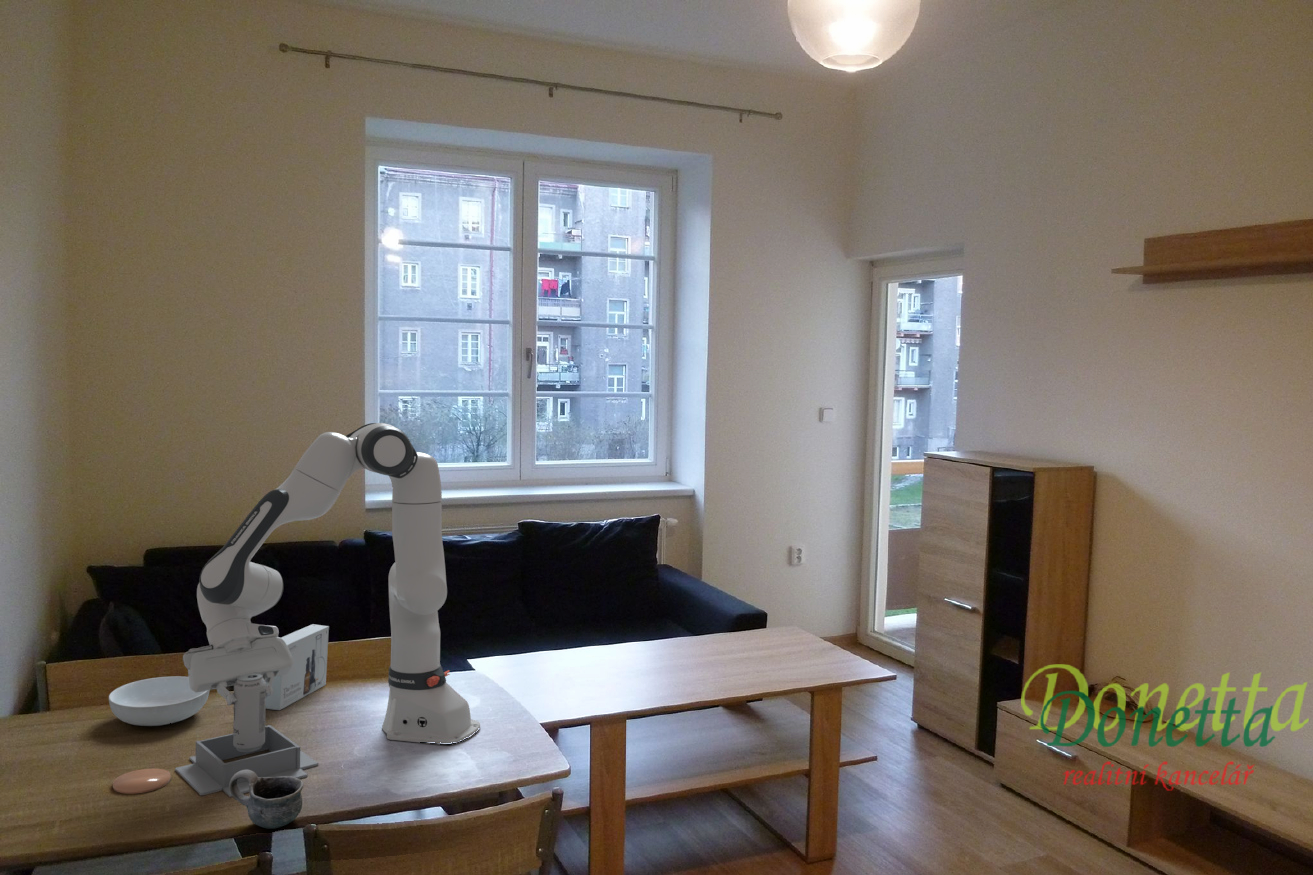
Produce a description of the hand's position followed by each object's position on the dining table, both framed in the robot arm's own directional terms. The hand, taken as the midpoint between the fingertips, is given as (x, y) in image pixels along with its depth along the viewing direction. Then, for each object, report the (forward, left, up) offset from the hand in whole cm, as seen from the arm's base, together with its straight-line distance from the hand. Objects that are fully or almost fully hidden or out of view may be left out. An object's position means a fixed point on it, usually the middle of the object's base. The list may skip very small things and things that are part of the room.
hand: (251, 699), depth 196 cm
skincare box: (+22, -39, -15) cm, 47 cm away
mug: (-20, +18, -15) cm, 31 cm away
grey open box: (+1, 0, -14) cm, 15 cm away
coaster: (+14, +14, -14) cm, 24 cm away
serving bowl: (+39, -13, -15) cm, 43 cm away
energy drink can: (+1, 0, -10) cm, 11 cm away
